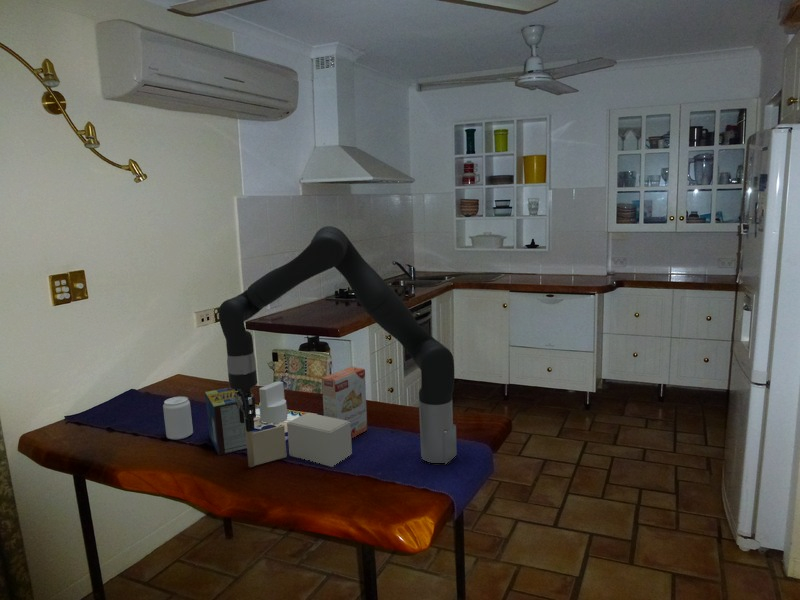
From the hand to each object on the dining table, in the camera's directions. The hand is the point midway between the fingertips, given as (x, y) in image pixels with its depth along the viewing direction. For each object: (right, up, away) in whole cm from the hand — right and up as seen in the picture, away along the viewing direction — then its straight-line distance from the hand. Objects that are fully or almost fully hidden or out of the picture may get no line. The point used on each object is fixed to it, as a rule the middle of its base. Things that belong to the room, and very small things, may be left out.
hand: (247, 426), depth 166 cm
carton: (+20, -10, +7) cm, 23 cm away
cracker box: (+26, -8, +19) cm, 33 cm away
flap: (+5, -11, +4) cm, 12 cm away
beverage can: (-28, -9, +26) cm, 40 cm away
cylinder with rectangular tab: (0, -6, +37) cm, 38 cm away
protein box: (-10, -9, +19) cm, 23 cm away
